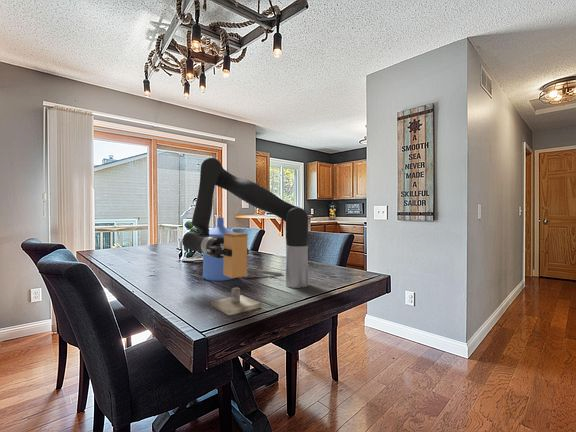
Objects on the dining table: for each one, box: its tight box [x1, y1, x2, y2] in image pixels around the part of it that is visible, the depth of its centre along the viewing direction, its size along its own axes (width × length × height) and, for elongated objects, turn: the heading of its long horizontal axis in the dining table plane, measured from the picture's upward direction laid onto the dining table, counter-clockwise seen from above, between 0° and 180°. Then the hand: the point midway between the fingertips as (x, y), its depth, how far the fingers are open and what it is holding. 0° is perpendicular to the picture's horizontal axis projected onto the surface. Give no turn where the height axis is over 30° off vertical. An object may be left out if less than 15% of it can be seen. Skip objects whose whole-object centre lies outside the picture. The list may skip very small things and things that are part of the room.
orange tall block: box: [223, 232, 248, 279], centre depth 103 cm, size 6×6×14 cm
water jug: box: [202, 217, 237, 282], centre depth 144 cm, size 16×16×28 cm
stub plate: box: [210, 287, 262, 316], centre depth 103 cm, size 12×12×6 cm
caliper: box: [241, 264, 284, 278], centre depth 148 cm, size 20×1×6 cm, turn 107°
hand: (239, 252), depth 101 cm, fingers closed on orange tall block, 5 cm apart
